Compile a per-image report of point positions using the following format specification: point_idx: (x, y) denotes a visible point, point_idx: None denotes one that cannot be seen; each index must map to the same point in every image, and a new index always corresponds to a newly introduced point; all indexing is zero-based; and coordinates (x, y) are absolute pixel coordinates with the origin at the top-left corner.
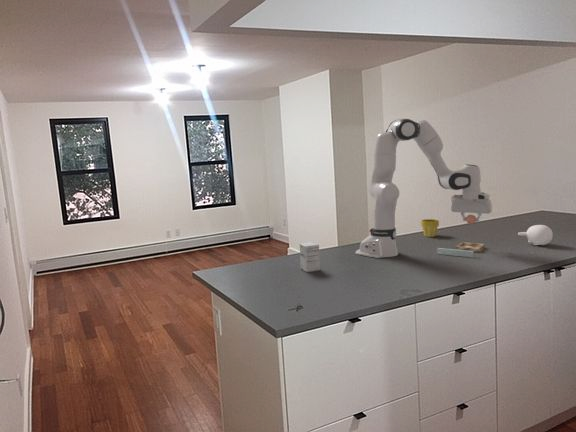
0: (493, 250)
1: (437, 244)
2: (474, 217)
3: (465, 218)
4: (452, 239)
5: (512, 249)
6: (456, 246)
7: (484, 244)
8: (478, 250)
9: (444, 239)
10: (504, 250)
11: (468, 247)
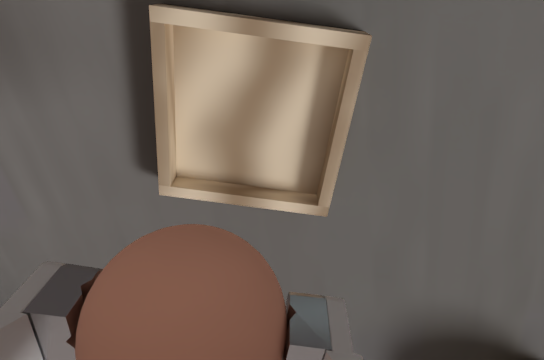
0: (94, 123)
1: (504, 202)
2: (77, 335)
3: (295, 328)
4: (394, 335)
5: (4, 185)
6: (364, 44)
7: (159, 184)
8: (160, 4)
9: (442, 328)
10: (32, 144)
11: (251, 33)
